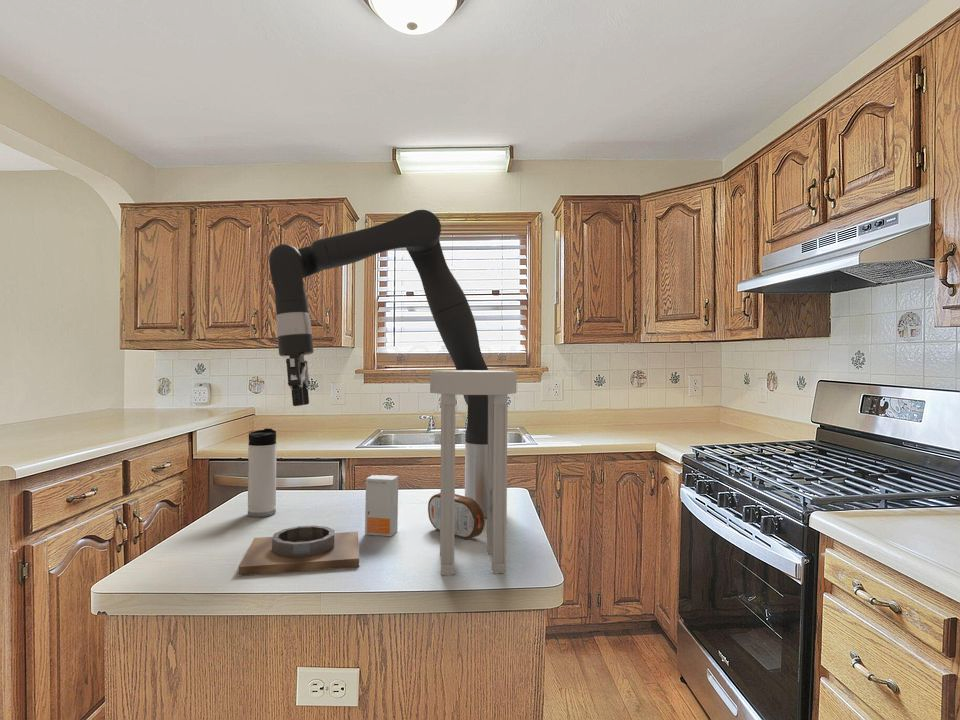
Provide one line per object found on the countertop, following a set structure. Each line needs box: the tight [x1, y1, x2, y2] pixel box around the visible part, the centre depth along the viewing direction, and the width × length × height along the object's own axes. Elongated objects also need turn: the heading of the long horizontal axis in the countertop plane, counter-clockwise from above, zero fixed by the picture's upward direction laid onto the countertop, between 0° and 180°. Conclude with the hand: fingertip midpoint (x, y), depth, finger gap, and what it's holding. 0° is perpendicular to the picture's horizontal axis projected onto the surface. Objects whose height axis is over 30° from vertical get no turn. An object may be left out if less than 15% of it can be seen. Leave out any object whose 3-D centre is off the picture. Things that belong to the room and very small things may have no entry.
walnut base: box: [238, 531, 360, 576], centre depth 104 cm, size 20×16×2 cm
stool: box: [429, 369, 518, 576], centre depth 101 cm, size 16×16×35 cm
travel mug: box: [247, 427, 277, 518], centre depth 133 cm, size 6×7×20 cm
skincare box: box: [364, 474, 399, 537], centre depth 118 cm, size 6×4×12 cm
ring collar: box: [272, 524, 336, 558], centre depth 104 cm, size 11×11×2 cm
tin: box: [427, 492, 485, 540], centre depth 118 cm, size 15×3×8 cm, turn 47°
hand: (301, 405), depth 126 cm, fingers open, 8 cm apart
